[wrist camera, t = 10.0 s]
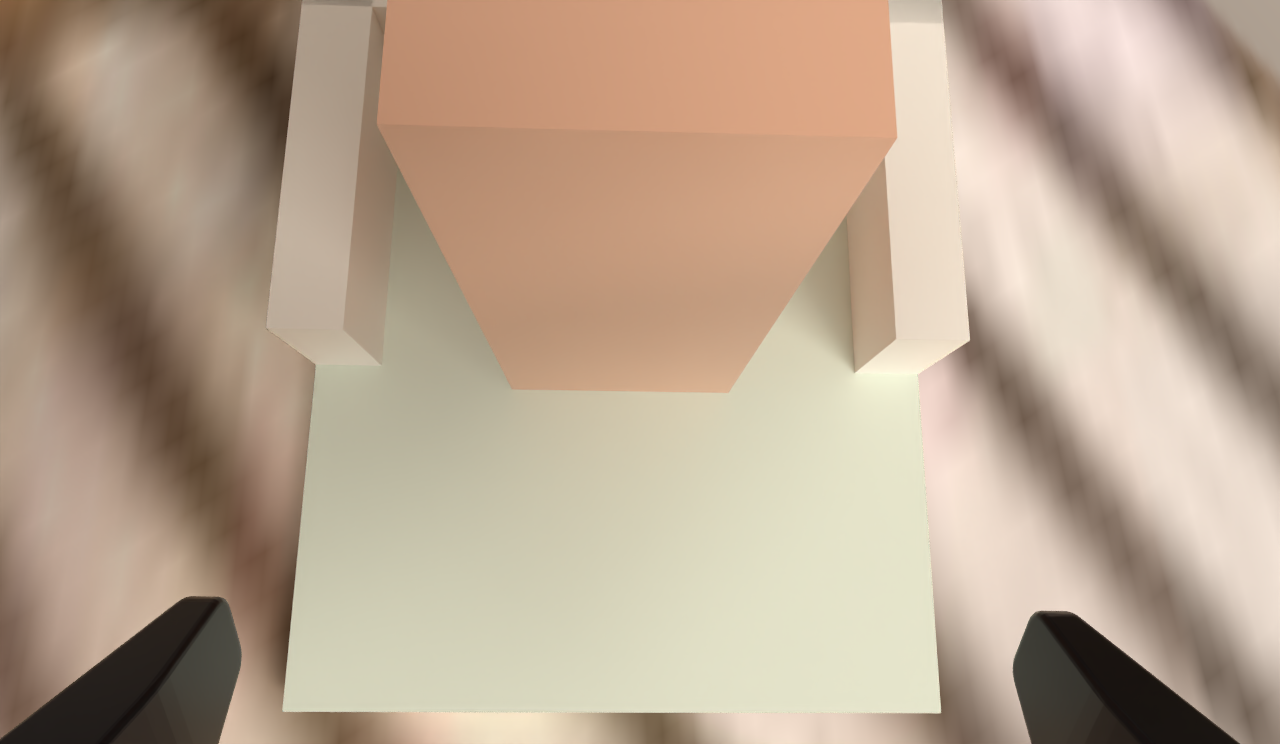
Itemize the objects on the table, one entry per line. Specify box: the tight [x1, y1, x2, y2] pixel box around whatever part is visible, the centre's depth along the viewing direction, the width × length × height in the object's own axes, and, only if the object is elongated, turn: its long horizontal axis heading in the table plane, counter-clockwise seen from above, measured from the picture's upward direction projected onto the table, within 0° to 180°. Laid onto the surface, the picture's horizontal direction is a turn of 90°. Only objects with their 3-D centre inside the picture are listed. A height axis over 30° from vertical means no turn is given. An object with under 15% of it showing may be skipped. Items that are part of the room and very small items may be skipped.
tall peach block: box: [377, 0, 897, 393], centre depth 15 cm, size 6×5×12 cm
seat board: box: [266, 0, 970, 713], centre depth 19 cm, size 16×14×4 cm
